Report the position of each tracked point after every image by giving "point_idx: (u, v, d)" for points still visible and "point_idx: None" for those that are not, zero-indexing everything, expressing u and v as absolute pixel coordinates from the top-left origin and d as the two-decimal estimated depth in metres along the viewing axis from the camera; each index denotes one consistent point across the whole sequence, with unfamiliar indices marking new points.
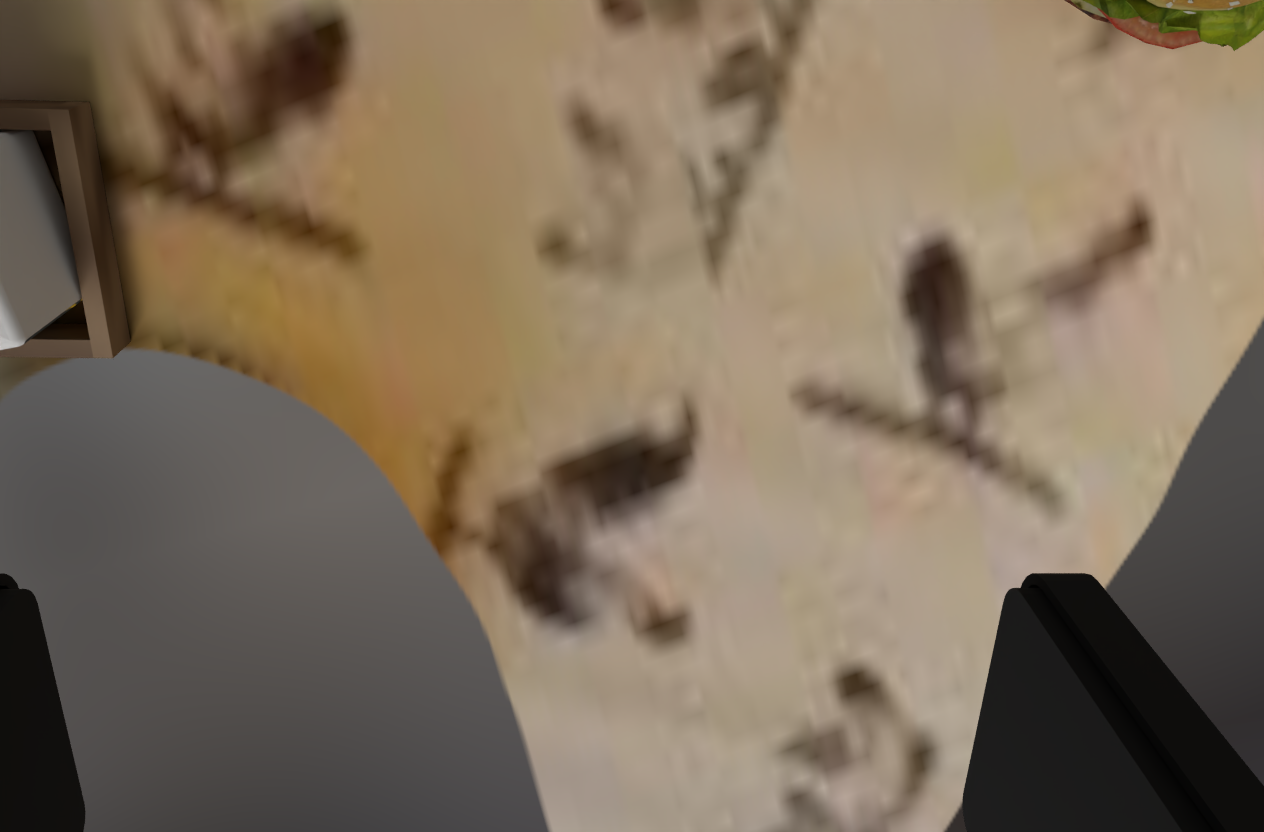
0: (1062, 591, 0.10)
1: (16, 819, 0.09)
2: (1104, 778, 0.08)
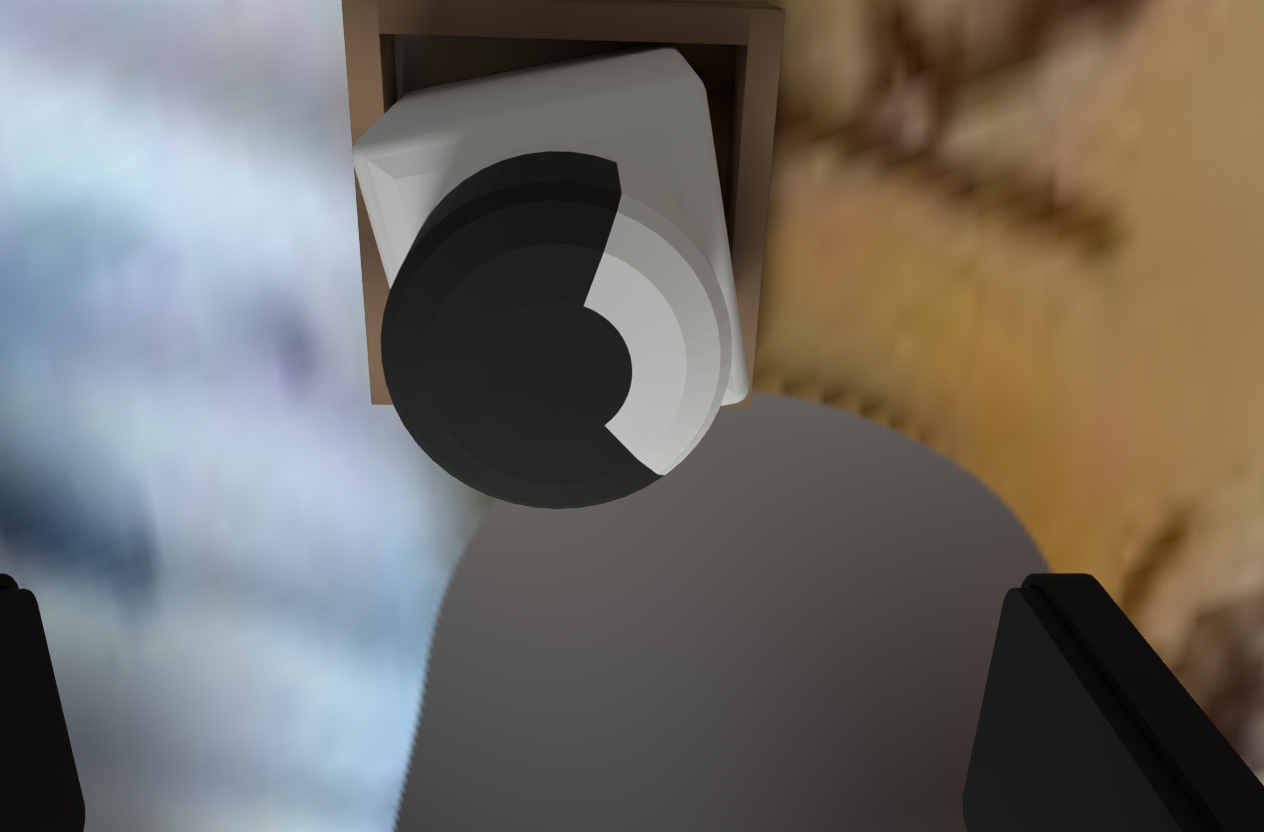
0: (1062, 591, 0.10)
1: (16, 819, 0.09)
2: (1104, 778, 0.08)
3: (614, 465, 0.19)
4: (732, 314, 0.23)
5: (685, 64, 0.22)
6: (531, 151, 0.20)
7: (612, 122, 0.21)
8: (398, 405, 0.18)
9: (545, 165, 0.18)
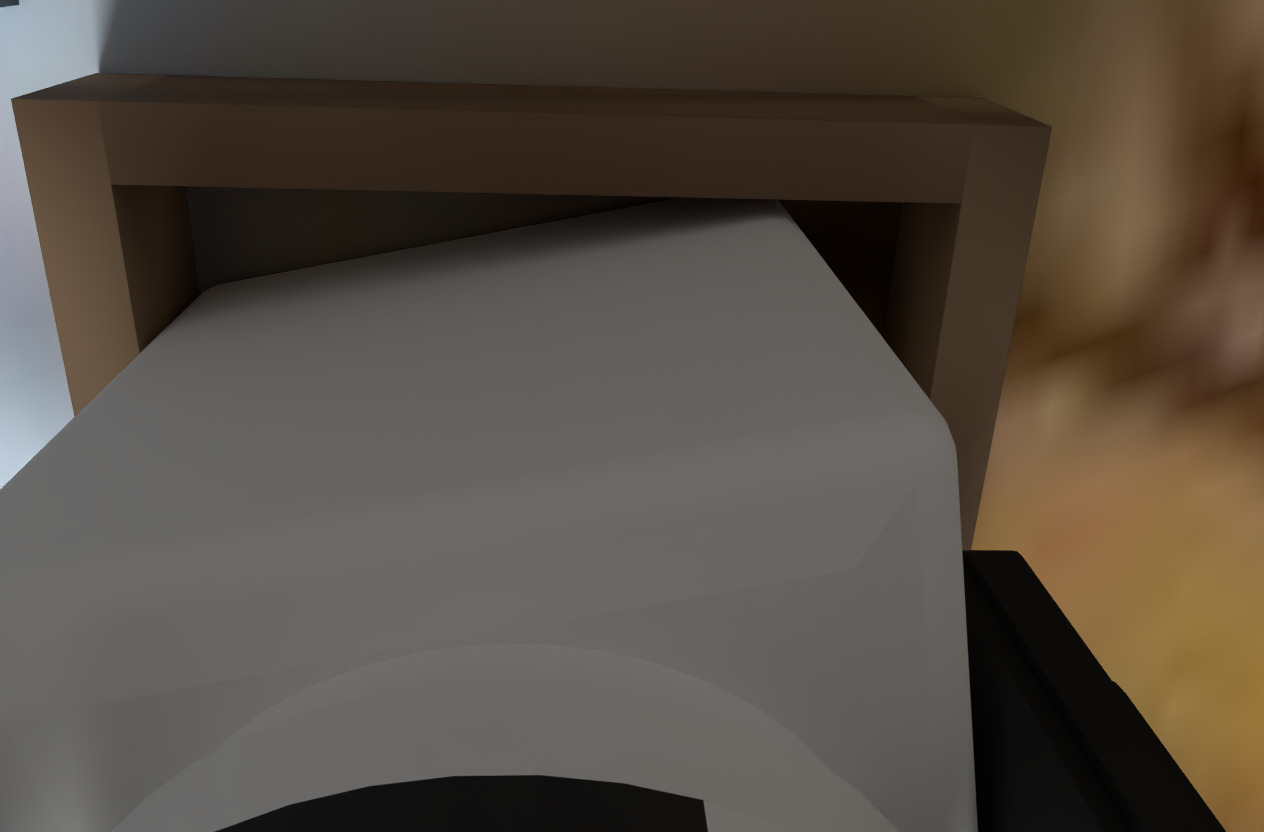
0: (987, 566, 0.10)
1: None
2: (1015, 742, 0.09)
3: None
4: None
5: (857, 317, 0.08)
6: (395, 759, 0.05)
7: (673, 559, 0.07)
8: None
9: None
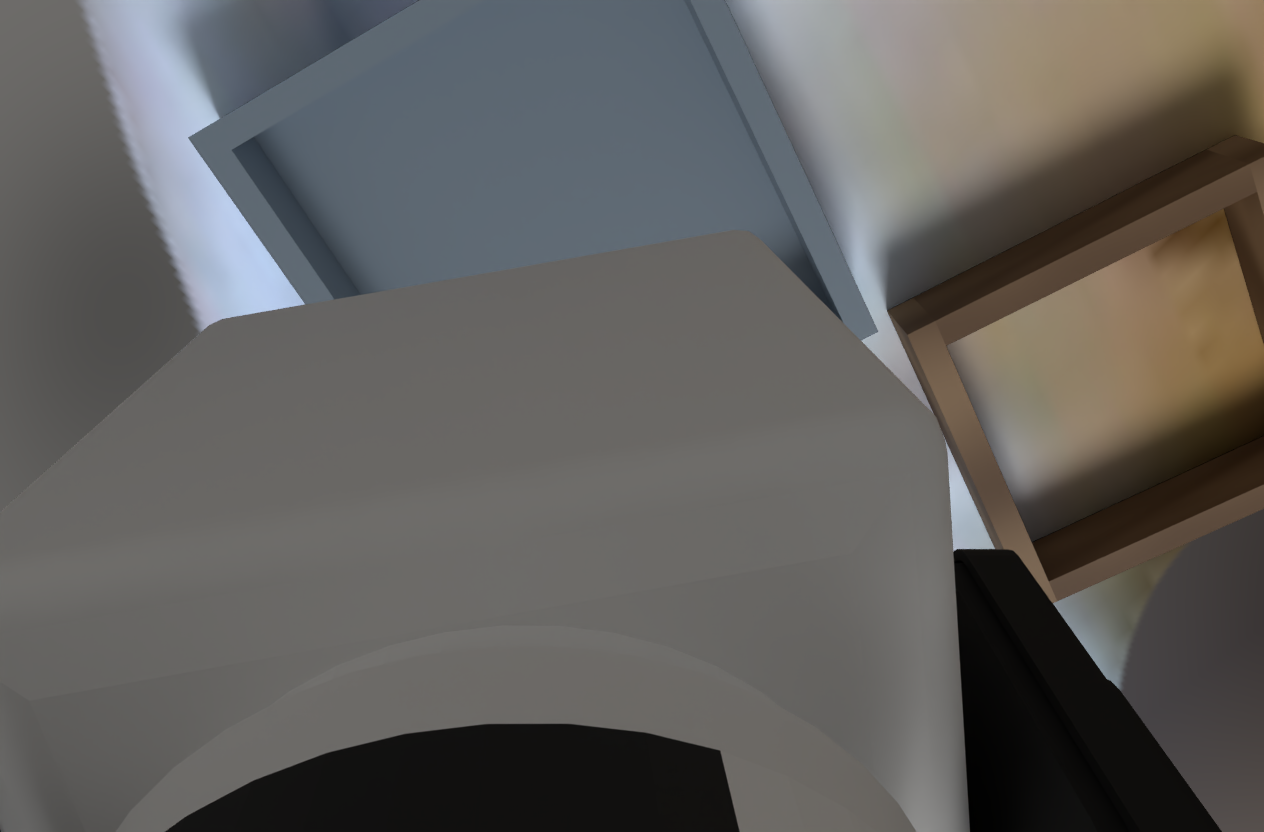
0: (983, 565, 0.10)
1: None
2: (1010, 740, 0.09)
3: None
4: None
5: (848, 333, 0.09)
6: (428, 711, 0.06)
7: (685, 543, 0.07)
8: None
9: None
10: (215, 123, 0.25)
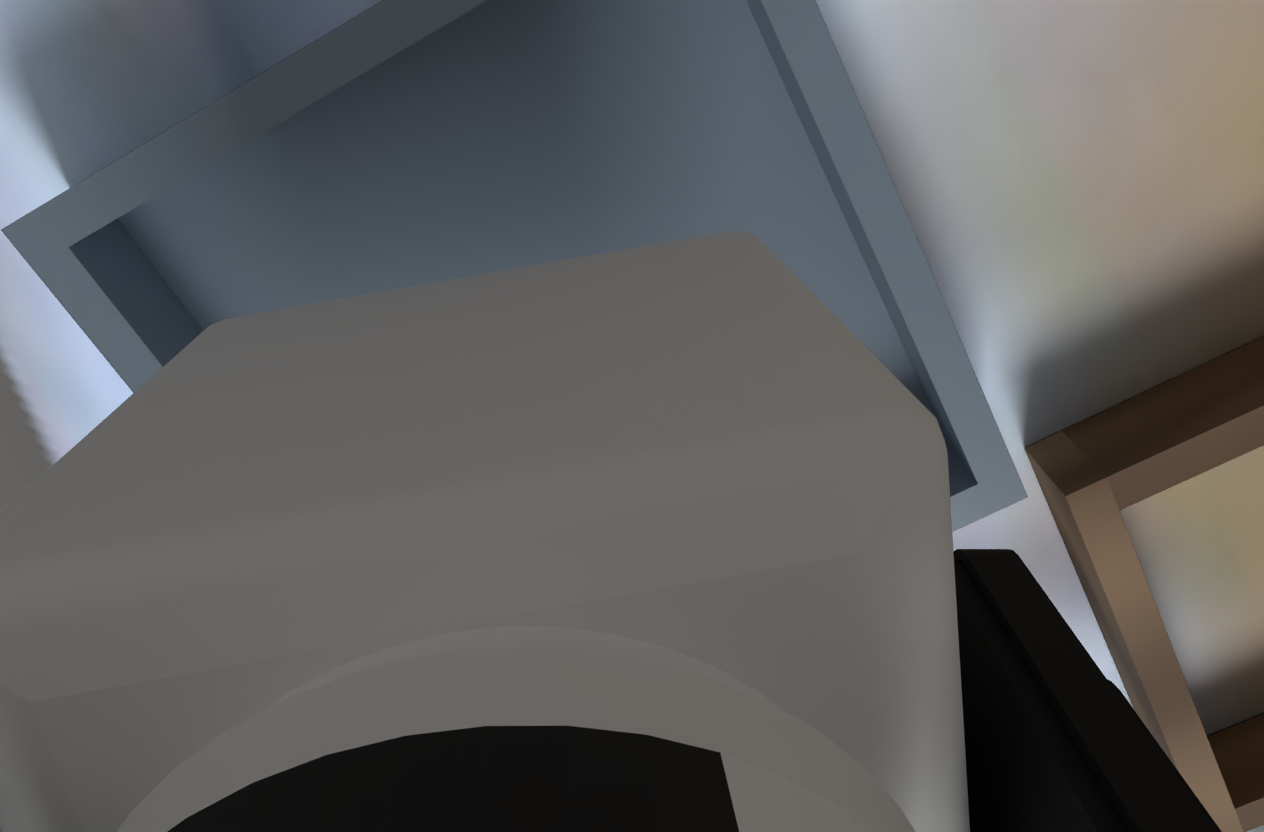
0: (983, 565, 0.10)
1: None
2: (1010, 740, 0.09)
3: None
4: None
5: (848, 335, 0.09)
6: (428, 714, 0.06)
7: (685, 545, 0.07)
8: None
9: None
10: (41, 208, 0.16)
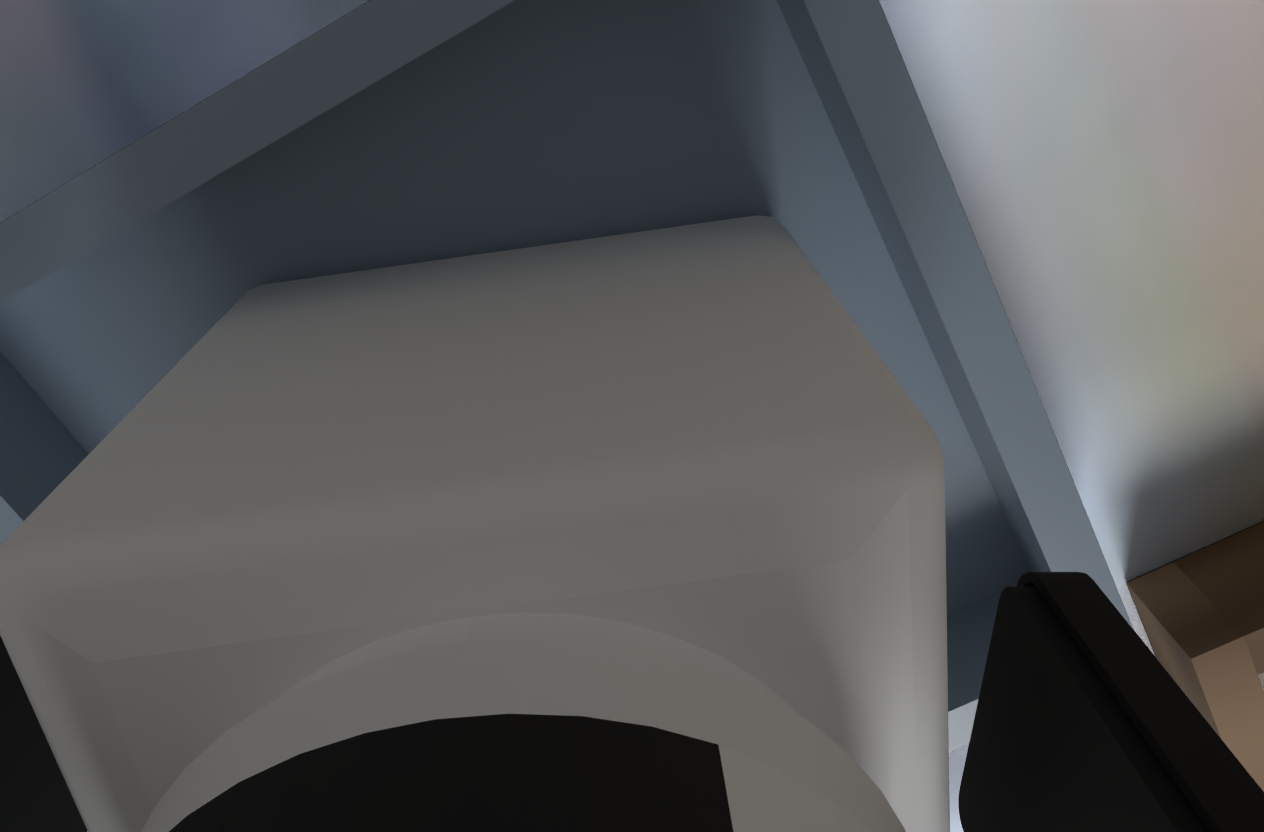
0: (1057, 589, 0.10)
1: (21, 817, 0.09)
2: (1098, 775, 0.08)
3: None
4: None
5: (860, 341, 0.09)
6: (456, 699, 0.06)
7: (695, 544, 0.08)
8: None
9: None
10: None
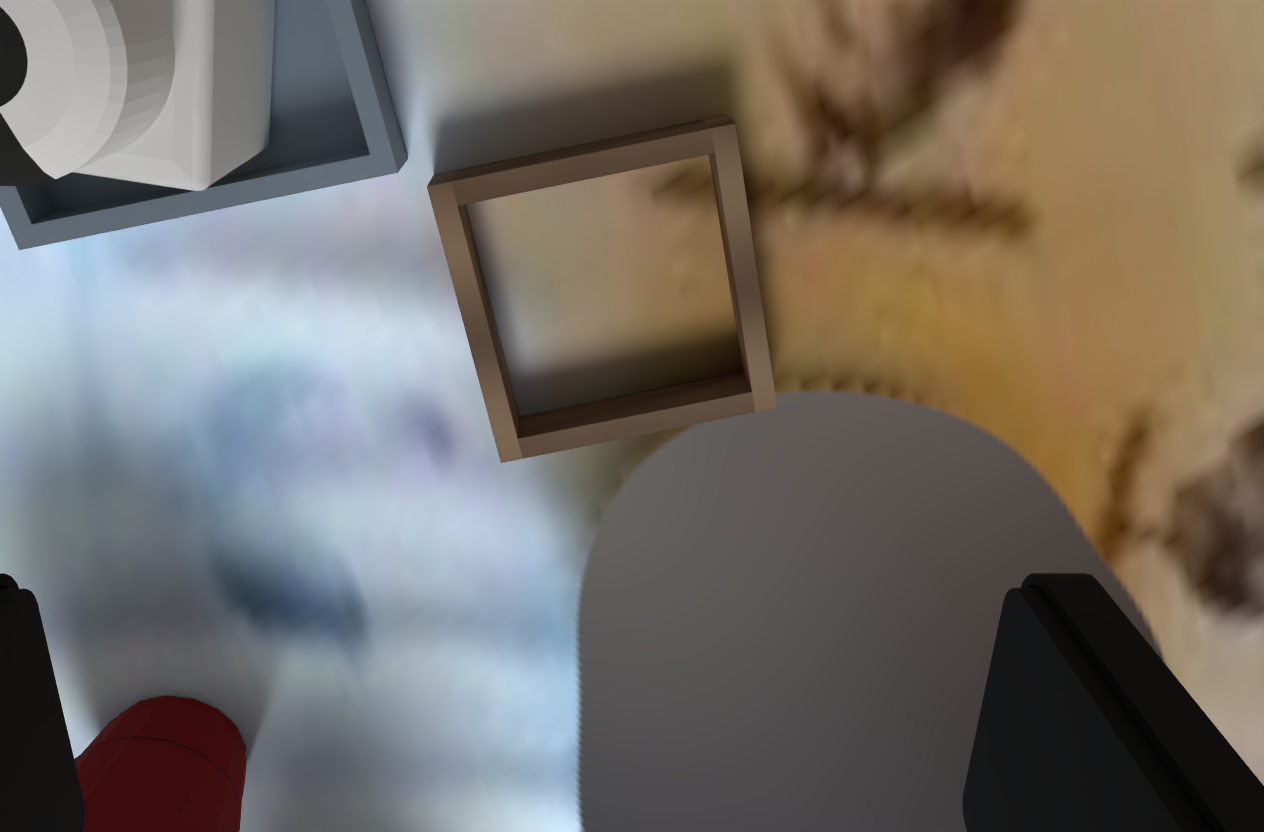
0: (1062, 591, 0.10)
1: (16, 819, 0.09)
2: (1104, 778, 0.08)
3: (2, 147, 0.23)
4: (202, 112, 0.28)
5: None
6: None
7: None
8: None
9: None
10: None
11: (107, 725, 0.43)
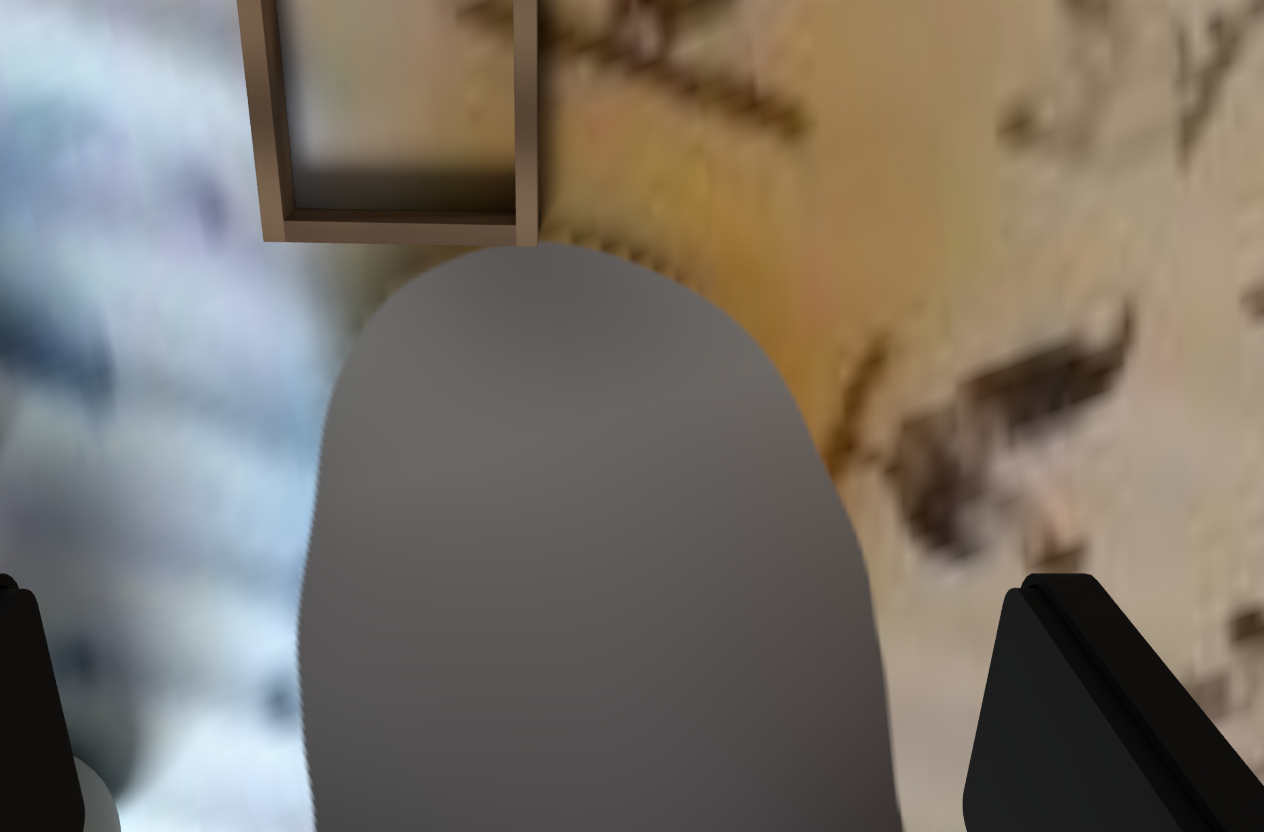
0: (1062, 591, 0.10)
1: (16, 819, 0.09)
2: (1104, 778, 0.08)
3: None
4: None
5: None
6: None
7: None
8: None
9: None
10: None
11: None
